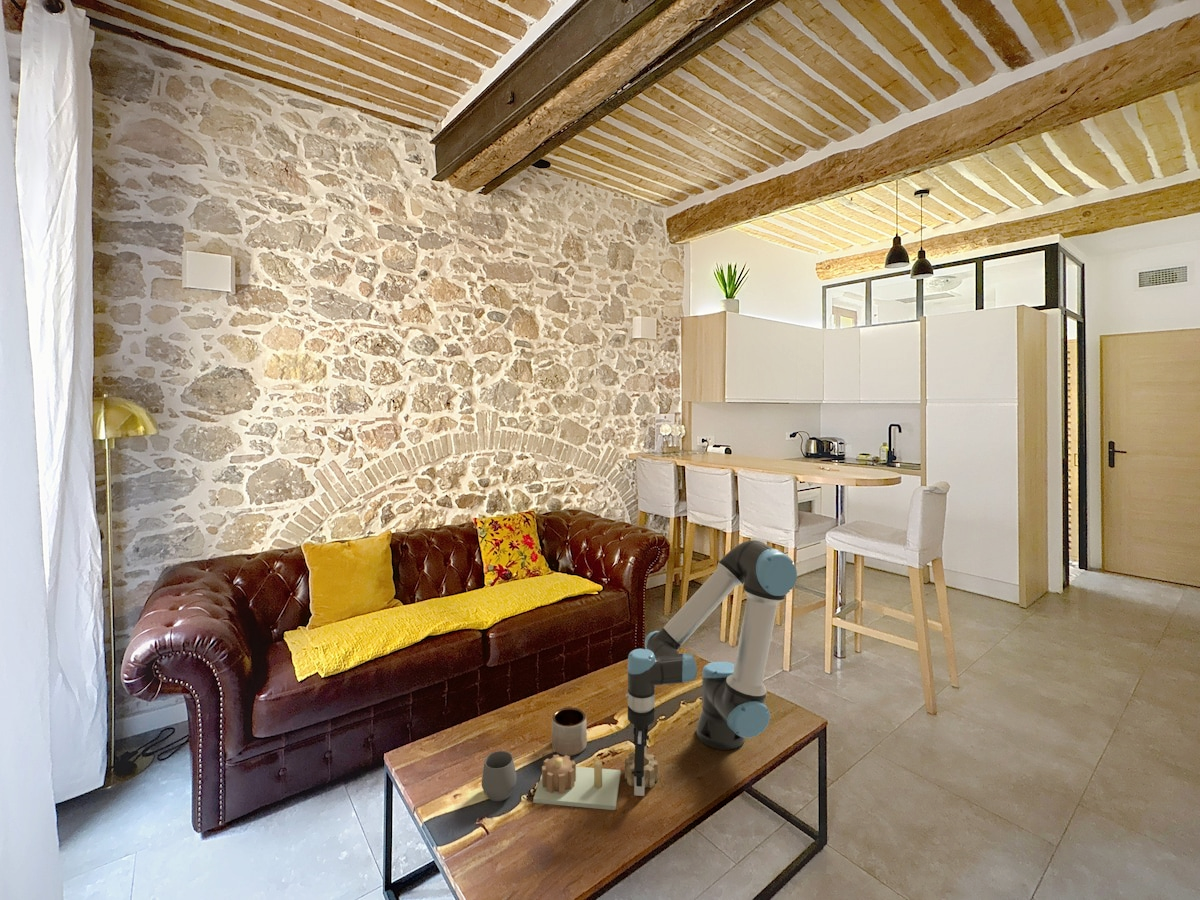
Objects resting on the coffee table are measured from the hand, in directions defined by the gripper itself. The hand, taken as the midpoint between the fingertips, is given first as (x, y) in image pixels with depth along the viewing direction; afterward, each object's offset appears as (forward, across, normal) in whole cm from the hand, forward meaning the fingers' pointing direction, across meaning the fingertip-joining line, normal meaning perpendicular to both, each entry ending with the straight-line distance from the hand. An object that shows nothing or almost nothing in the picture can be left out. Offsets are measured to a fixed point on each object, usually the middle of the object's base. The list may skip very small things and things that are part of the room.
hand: (640, 777), depth 154 cm
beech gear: (0, 0, 0) cm, 0 cm away
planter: (0, -12, -23) cm, 26 cm away
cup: (+1, +11, -38) cm, 39 cm away
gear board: (0, +6, -17) cm, 18 cm away
